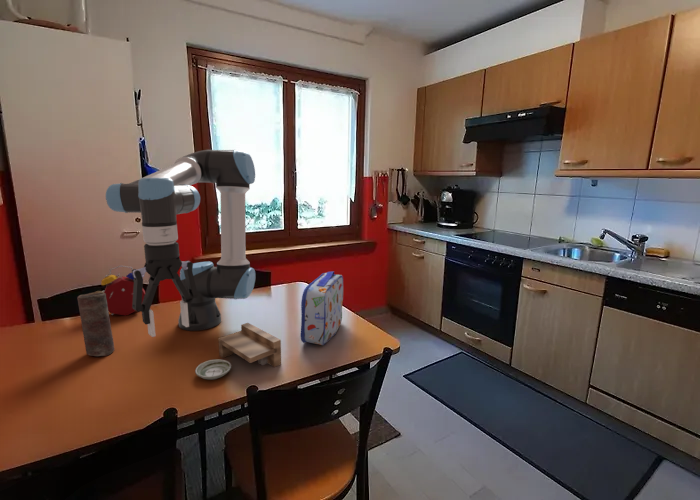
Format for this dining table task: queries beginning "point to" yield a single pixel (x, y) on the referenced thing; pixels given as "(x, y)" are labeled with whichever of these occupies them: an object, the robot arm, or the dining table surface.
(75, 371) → the dining table surface
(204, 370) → the saucer
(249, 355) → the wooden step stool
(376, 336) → the dining table surface
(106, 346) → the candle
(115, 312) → the alarm clock
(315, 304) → the lunch box
